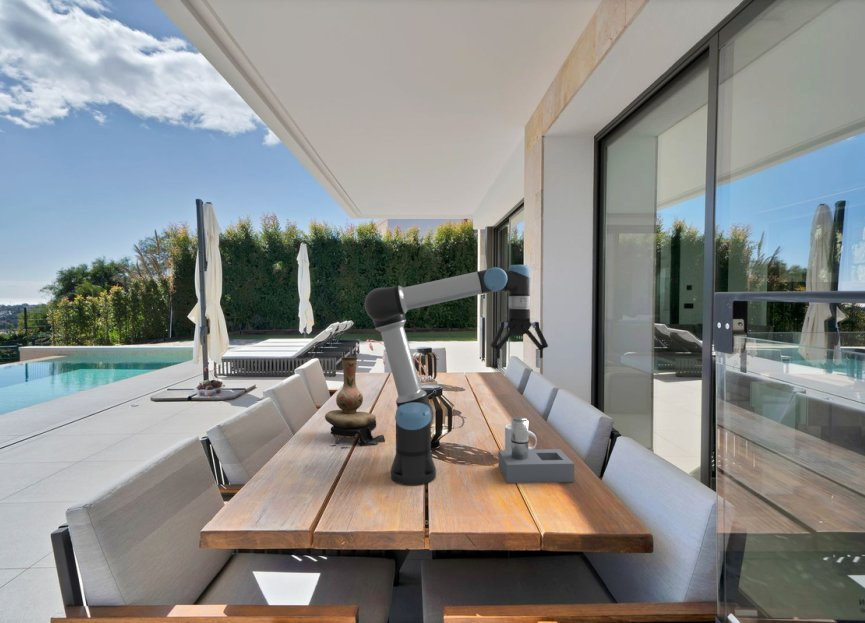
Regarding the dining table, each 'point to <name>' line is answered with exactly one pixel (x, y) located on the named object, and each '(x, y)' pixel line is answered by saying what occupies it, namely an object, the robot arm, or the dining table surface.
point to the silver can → (519, 438)
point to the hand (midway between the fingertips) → (519, 367)
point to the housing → (536, 467)
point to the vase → (351, 410)
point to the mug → (509, 436)
